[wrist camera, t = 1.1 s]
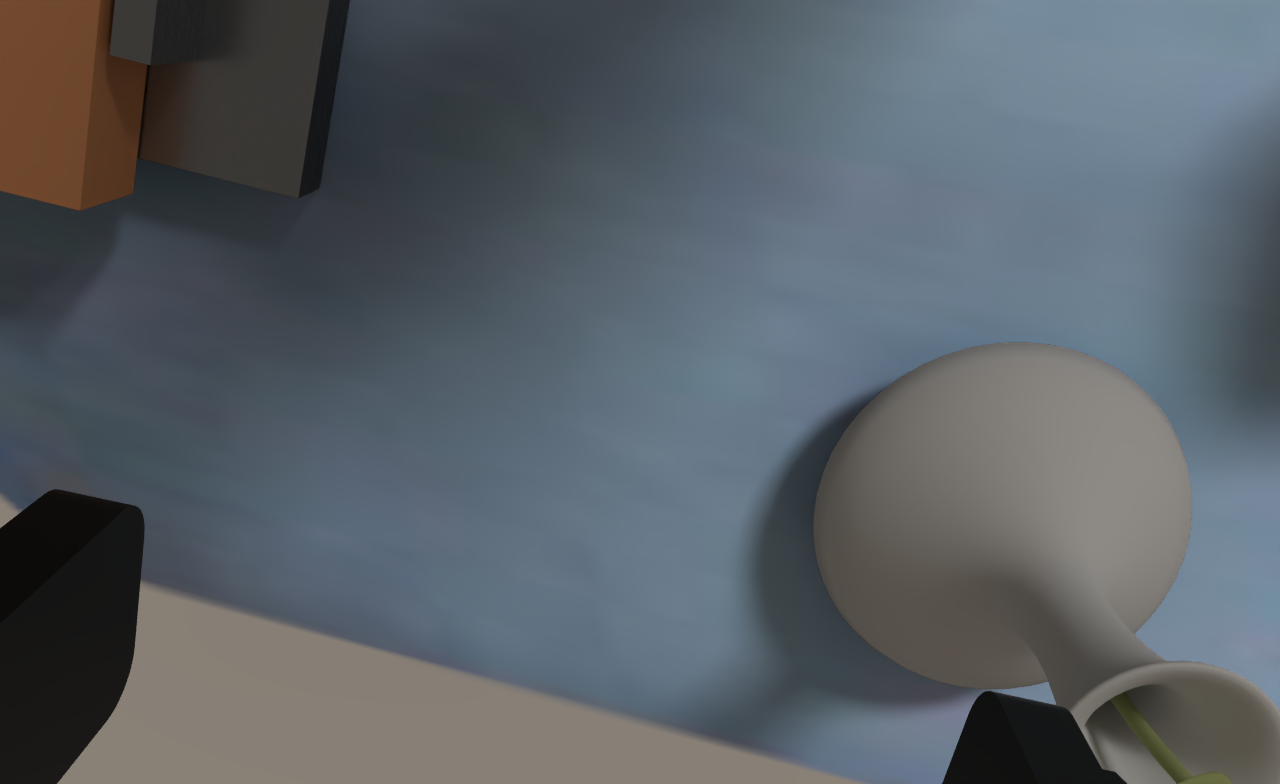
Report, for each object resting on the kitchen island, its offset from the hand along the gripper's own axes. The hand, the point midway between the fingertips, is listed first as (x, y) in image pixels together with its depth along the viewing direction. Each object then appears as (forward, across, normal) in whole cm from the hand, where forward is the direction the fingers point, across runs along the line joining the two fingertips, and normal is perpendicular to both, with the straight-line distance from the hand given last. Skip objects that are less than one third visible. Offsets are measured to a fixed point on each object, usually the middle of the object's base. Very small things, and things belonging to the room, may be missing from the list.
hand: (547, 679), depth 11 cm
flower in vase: (+24, -14, +7) cm, 29 cm away
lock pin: (+22, +15, -2) cm, 27 cm away
